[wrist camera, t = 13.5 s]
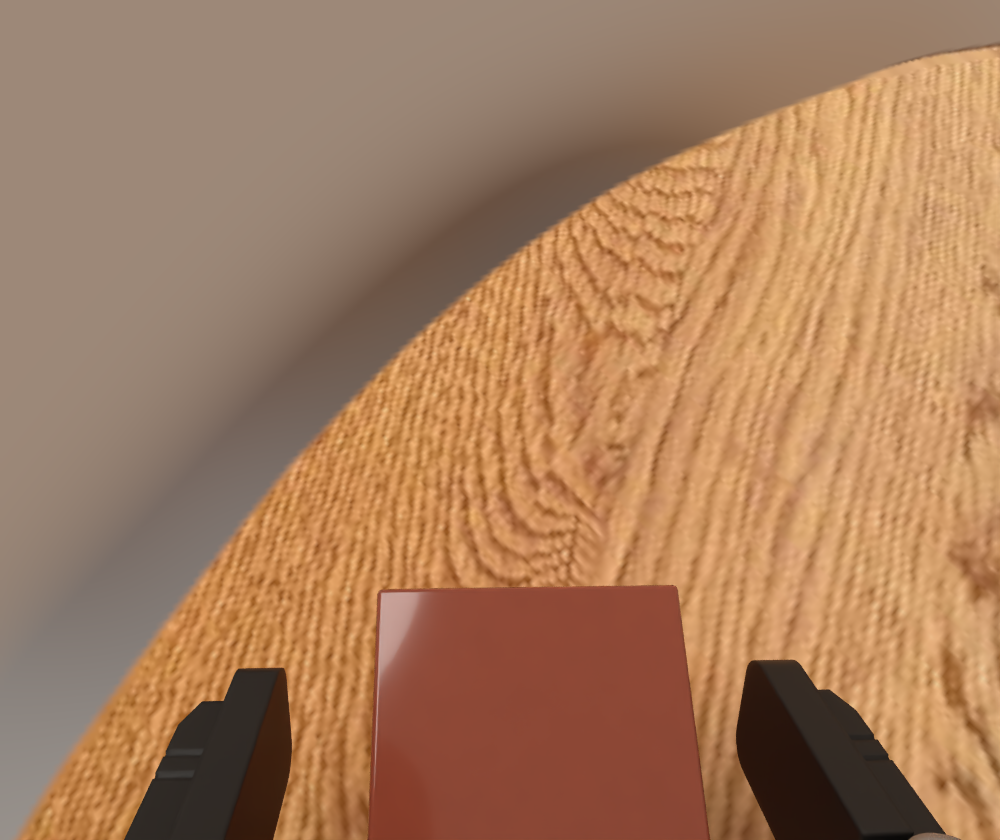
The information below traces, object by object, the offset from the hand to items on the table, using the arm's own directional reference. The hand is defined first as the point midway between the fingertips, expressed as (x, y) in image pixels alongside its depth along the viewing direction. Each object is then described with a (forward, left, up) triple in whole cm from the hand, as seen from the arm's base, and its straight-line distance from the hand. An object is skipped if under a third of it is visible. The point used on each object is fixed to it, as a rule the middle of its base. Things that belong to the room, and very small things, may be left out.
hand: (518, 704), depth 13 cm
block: (0, -1, -5) cm, 5 cm away
